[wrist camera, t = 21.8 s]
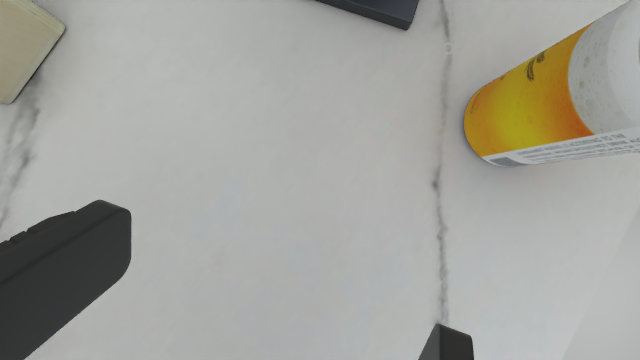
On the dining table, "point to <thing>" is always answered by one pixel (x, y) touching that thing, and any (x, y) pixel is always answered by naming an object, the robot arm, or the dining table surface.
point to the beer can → (565, 98)
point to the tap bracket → (380, 10)
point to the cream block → (23, 43)
